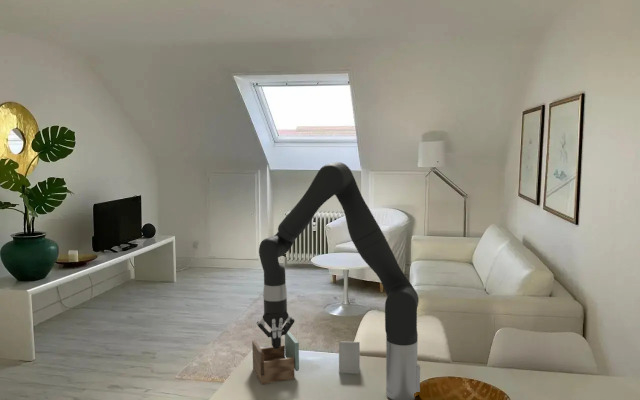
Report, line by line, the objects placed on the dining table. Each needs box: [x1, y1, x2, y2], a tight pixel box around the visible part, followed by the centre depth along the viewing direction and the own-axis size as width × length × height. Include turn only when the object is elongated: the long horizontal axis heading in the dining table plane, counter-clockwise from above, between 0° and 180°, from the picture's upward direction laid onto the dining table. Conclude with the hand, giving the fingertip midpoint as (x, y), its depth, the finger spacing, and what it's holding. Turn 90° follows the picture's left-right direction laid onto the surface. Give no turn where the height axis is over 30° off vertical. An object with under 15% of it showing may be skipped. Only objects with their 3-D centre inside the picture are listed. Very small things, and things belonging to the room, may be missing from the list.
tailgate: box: [284, 330, 300, 372], centre depth 170 cm, size 1×12×10 cm, turn 21°
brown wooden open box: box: [251, 339, 296, 385], centre depth 168 cm, size 11×12×10 cm
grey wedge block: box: [338, 340, 361, 374], centre depth 170 cm, size 4×7×10 cm, turn 84°
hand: (276, 347), depth 168 cm, fingers closed
